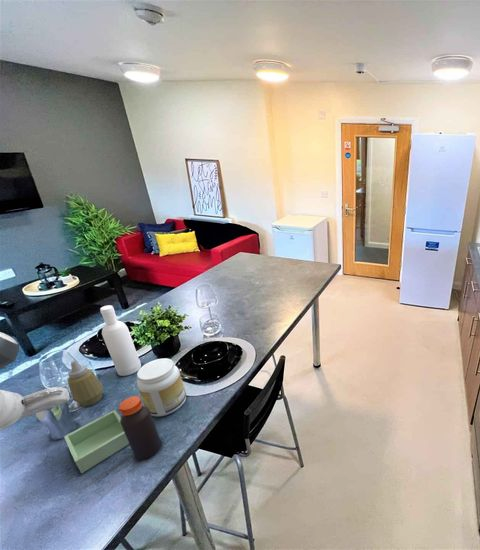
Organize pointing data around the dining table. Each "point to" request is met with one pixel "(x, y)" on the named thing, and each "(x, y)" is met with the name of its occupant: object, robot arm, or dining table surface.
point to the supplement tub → (161, 387)
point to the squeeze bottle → (84, 385)
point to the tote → (96, 441)
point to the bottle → (119, 343)
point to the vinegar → (139, 428)
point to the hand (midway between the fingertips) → (27, 414)
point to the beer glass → (57, 421)
